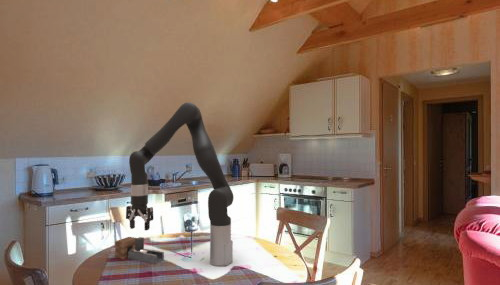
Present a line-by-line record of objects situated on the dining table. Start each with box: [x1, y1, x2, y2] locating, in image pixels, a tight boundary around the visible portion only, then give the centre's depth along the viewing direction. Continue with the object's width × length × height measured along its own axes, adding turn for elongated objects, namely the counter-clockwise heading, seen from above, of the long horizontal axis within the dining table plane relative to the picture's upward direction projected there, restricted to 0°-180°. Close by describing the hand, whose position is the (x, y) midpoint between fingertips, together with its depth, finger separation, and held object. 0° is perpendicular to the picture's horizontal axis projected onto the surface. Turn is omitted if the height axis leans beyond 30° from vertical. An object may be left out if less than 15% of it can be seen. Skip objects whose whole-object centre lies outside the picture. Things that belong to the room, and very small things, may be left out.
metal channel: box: [127, 248, 165, 265], centre depth 149 cm, size 16×6×4 cm, turn 66°
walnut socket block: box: [114, 236, 137, 260], centre depth 154 cm, size 5×8×8 cm, turn 156°
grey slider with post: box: [127, 236, 148, 254], centre depth 152 cm, size 13×3×8 cm, turn 66°
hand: (139, 229), depth 150 cm, fingers open, 8 cm apart
